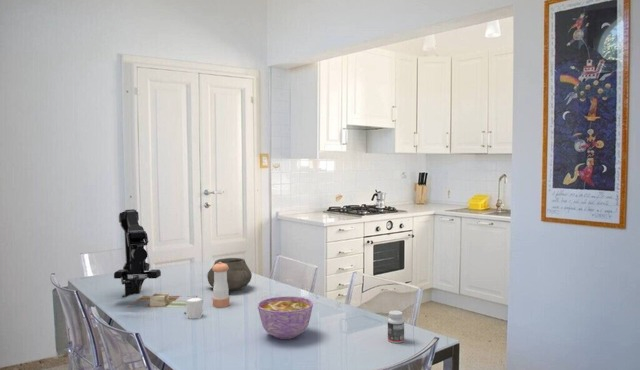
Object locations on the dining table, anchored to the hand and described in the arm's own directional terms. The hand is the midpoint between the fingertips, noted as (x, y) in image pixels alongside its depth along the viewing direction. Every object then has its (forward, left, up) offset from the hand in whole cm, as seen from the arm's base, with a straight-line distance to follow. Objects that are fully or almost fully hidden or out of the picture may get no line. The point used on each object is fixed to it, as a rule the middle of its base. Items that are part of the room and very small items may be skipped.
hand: (138, 293), depth 223 cm
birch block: (0, +10, -5) cm, 11 cm away
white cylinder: (+13, +29, -6) cm, 32 cm away
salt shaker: (-3, +36, -6) cm, 36 cm away
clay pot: (-29, +34, -6) cm, 45 cm away
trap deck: (-4, +10, -6) cm, 12 cm away
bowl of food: (+35, +69, -6) cm, 77 cm away
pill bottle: (+40, +108, -6) cm, 115 cm away
